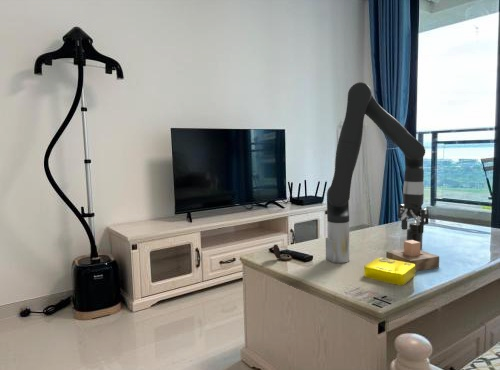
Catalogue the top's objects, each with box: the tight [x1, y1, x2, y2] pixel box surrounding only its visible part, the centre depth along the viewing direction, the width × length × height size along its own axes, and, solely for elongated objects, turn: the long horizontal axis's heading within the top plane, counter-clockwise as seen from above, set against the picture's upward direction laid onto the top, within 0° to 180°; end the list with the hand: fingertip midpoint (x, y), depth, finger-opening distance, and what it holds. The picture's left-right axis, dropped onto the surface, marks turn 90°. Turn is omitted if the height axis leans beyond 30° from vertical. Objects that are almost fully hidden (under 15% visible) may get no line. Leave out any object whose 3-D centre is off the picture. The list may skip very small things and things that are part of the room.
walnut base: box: [385, 248, 440, 272], centre depth 146 cm, size 14×14×4 cm
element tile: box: [363, 257, 416, 286], centre depth 135 cm, size 15×15×5 cm
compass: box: [272, 243, 293, 262], centre depth 159 cm, size 8×8×7 cm
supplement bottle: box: [406, 222, 424, 250], centre depth 167 cm, size 7×7×12 cm
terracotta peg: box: [403, 240, 420, 257], centre depth 146 cm, size 4×4×8 cm
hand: (412, 231), depth 145 cm, fingers open, 8 cm apart
